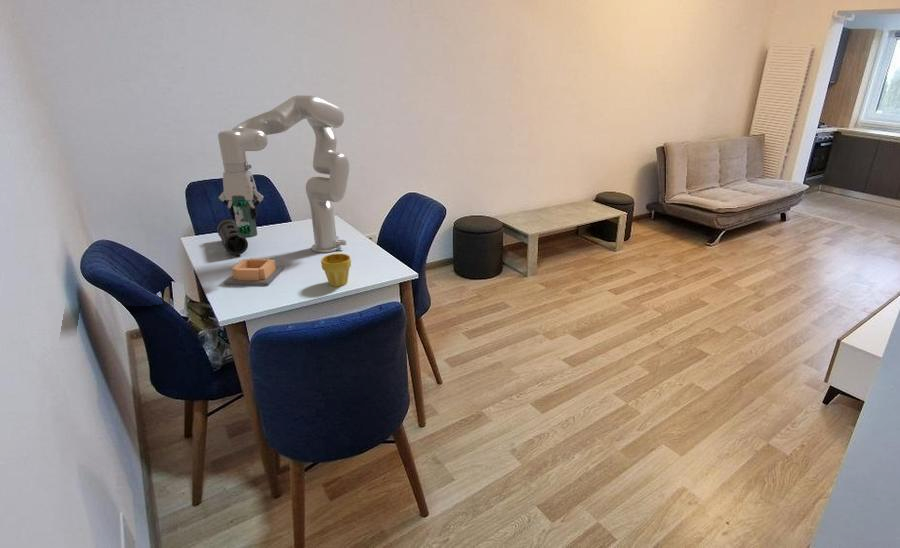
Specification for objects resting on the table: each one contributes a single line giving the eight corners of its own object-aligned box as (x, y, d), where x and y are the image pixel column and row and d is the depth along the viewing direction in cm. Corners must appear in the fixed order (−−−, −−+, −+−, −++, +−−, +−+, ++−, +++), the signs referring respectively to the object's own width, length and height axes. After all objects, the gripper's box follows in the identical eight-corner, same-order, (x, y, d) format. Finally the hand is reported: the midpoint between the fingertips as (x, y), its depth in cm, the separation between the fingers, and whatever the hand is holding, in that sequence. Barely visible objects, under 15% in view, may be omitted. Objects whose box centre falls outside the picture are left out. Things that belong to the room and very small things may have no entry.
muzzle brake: (226, 259, 192) (221, 235, 188) (219, 241, 214) (214, 219, 210) (250, 255, 196) (246, 232, 192) (240, 237, 218) (237, 216, 214)
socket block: (284, 269, 181) (282, 256, 179) (268, 285, 166) (265, 272, 164) (244, 268, 182) (242, 256, 180) (224, 285, 167) (222, 272, 165)
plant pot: (338, 291, 162) (335, 265, 158) (317, 284, 167) (314, 259, 163) (358, 281, 170) (356, 256, 166) (338, 275, 175) (335, 251, 171)
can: (235, 236, 167) (227, 195, 161) (250, 231, 171) (243, 192, 166) (245, 239, 164) (237, 197, 158) (260, 234, 168) (253, 194, 162)
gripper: (265, 166, 161) (272, 215, 168) (216, 166, 162) (226, 215, 169) (256, 170, 154) (264, 221, 161) (205, 169, 155) (216, 220, 162)
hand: (244, 217), depth 165 cm, fingers closed on can, 6 cm apart
